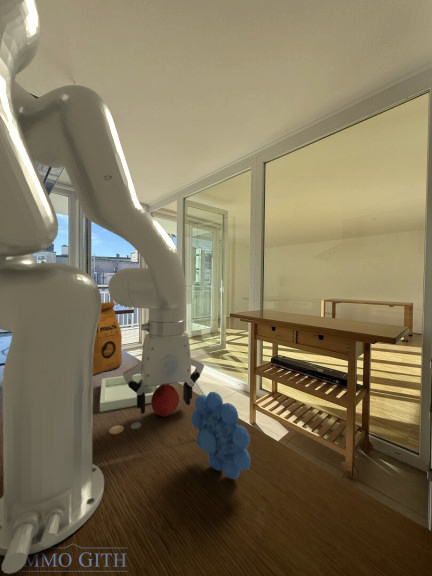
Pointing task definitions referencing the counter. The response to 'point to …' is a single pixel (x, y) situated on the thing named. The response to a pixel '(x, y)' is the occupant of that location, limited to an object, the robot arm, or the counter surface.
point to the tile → (120, 428)
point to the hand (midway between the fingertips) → (165, 406)
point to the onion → (165, 400)
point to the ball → (148, 389)
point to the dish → (120, 393)
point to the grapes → (221, 435)
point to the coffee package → (107, 341)
